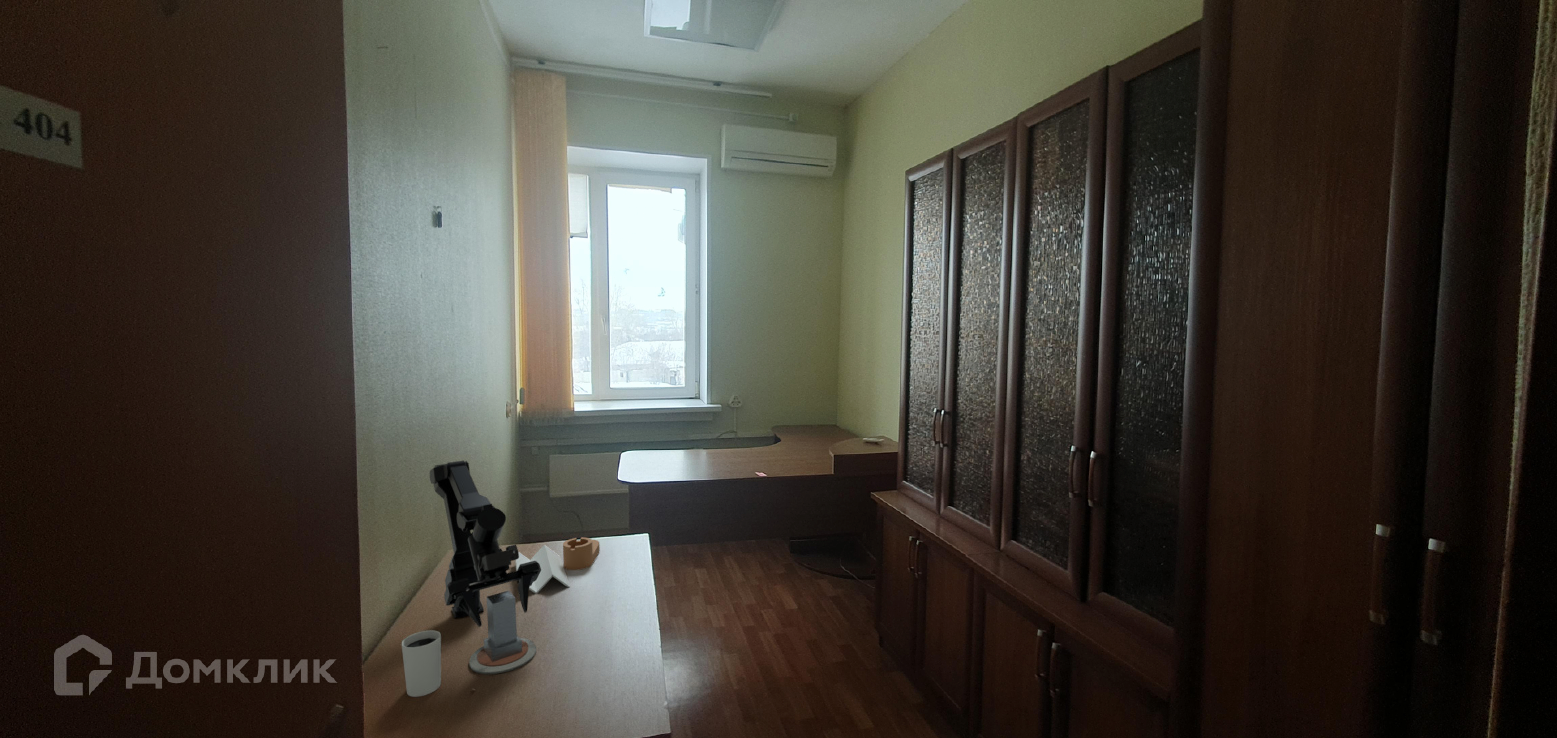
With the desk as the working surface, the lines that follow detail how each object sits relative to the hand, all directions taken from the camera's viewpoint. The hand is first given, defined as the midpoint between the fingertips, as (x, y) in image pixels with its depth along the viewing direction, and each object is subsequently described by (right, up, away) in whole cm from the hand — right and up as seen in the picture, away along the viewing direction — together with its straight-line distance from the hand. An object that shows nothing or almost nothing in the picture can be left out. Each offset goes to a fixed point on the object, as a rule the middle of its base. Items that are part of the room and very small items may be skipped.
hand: (503, 618), depth 128 cm
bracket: (-2, -5, +57) cm, 57 cm away
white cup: (-12, -10, -9) cm, 18 cm away
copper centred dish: (-1, -9, +2) cm, 9 cm away
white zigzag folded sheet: (-10, -6, +45) cm, 46 cm away
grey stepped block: (-1, -8, +2) cm, 8 cm away
